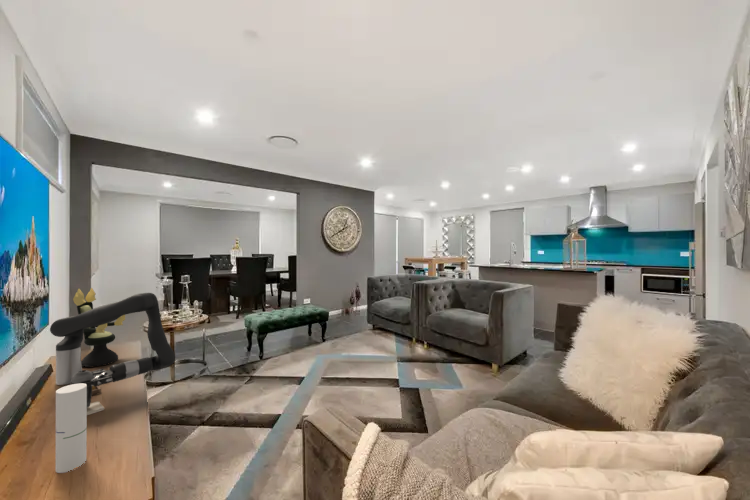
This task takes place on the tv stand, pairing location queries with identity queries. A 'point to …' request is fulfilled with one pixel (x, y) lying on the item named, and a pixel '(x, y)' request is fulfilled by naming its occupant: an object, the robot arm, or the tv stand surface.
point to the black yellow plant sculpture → (96, 334)
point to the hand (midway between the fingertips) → (75, 383)
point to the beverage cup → (82, 377)
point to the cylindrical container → (71, 427)
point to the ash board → (94, 408)
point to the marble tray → (96, 390)
